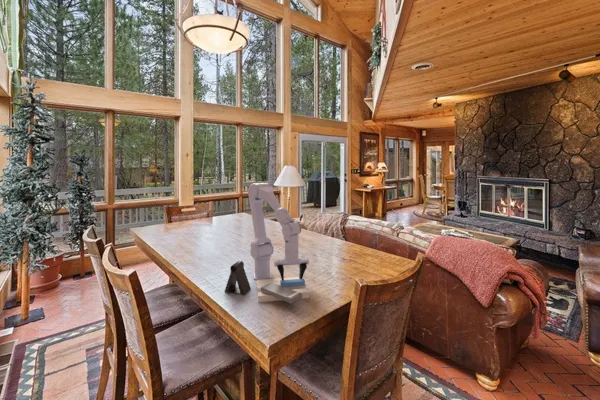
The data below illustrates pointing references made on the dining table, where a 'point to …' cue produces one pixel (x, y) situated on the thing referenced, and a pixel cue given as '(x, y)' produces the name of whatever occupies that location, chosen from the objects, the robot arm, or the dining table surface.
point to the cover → (281, 292)
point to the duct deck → (266, 297)
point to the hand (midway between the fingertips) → (291, 281)
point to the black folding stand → (237, 280)
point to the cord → (292, 282)
